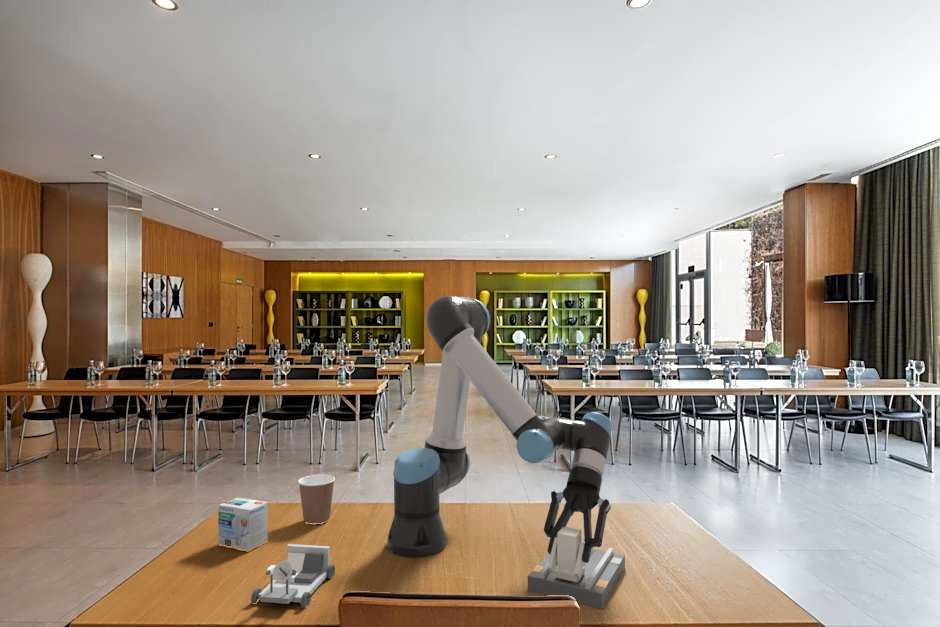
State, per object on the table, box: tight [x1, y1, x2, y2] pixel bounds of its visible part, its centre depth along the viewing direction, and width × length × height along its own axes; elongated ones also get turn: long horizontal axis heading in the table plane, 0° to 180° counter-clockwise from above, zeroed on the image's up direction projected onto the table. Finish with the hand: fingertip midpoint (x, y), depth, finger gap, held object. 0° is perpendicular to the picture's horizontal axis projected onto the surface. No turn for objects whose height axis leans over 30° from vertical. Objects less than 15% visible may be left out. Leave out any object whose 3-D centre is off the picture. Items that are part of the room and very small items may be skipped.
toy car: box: [250, 543, 336, 609], centre depth 114 cm, size 18×10×12 cm
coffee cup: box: [297, 474, 336, 523], centre depth 155 cm, size 10×10×12 cm
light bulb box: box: [217, 497, 269, 550], centre depth 139 cm, size 11×7×11 cm, turn 68°
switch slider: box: [554, 526, 585, 583], centre depth 114 cm, size 5×5×9 cm
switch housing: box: [527, 547, 626, 610], centre depth 119 cm, size 16×20×4 cm
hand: (563, 573), depth 111 cm, fingers closed on switch slider, 5 cm apart
